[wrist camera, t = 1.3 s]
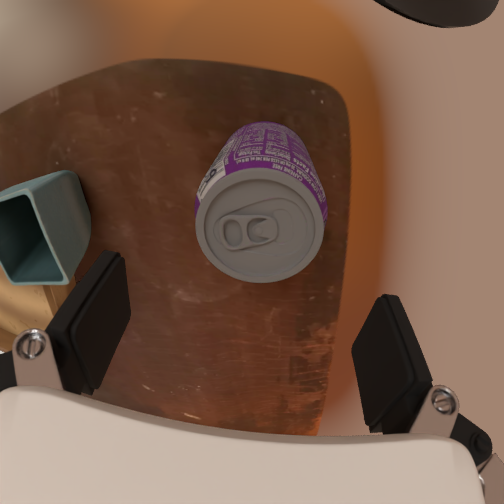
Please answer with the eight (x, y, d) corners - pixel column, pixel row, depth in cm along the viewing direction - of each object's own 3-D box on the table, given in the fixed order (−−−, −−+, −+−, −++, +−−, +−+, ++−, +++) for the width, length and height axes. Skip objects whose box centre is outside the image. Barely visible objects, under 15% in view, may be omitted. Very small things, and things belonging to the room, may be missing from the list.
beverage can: (229, 204, 27) (202, 293, 17) (216, 125, 23) (171, 169, 13) (310, 197, 26) (332, 285, 16) (305, 116, 22) (332, 154, 12)
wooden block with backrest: (-14, 227, 30) (-55, 265, 22) (68, 244, 31) (24, 296, 23) (12, 302, 38) (-17, 341, 30) (88, 328, 38) (62, 378, 31)
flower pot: (113, 231, 29) (70, 286, 22) (54, 239, 30) (10, 286, 23) (88, 150, 25) (28, 187, 17) (29, 169, 26) (-27, 206, 18)
